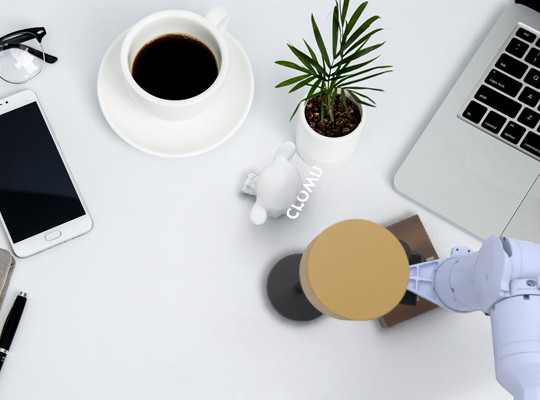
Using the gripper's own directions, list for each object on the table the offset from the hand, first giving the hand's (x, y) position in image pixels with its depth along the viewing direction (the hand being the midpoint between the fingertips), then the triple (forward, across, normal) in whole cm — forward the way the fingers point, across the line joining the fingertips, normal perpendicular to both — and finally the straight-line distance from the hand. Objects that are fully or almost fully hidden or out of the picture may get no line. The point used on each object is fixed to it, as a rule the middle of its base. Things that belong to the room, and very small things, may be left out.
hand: (431, 288), depth 74 cm
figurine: (+9, +19, -11) cm, 24 cm away
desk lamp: (+9, +15, +1) cm, 17 cm away
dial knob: (+6, +2, -2) cm, 7 cm away
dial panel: (+9, +2, -2) cm, 9 cm away
